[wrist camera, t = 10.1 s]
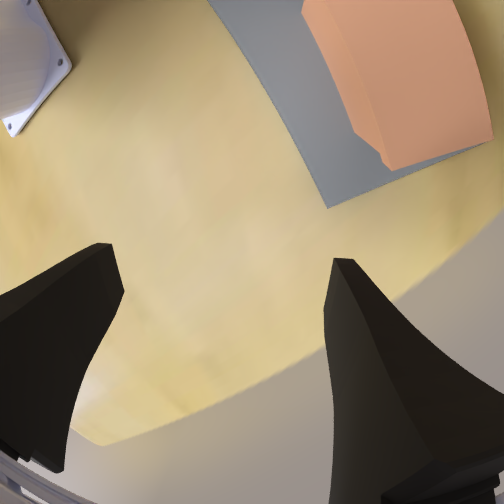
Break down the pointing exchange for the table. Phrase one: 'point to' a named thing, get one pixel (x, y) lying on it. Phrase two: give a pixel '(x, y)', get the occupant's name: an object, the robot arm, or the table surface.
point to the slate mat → (308, 97)
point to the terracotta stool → (403, 75)
